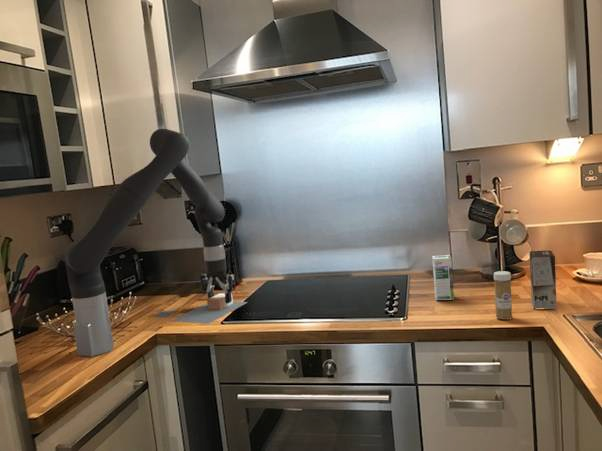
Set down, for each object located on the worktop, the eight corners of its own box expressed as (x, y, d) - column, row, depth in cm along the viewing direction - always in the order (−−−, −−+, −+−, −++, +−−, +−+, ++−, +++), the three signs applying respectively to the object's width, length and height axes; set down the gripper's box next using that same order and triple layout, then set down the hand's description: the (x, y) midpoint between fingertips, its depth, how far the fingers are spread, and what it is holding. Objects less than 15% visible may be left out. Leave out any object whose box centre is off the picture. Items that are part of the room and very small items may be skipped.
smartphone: (138, 325, 171) (160, 311, 186) (139, 328, 171) (161, 313, 186) (157, 325, 169) (177, 310, 184) (157, 327, 170) (178, 313, 184)
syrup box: (436, 301, 167) (433, 258, 165) (434, 296, 173) (432, 255, 171) (454, 301, 166) (451, 257, 164) (452, 296, 172) (449, 254, 170)
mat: (209, 324, 165) (208, 323, 165) (170, 322, 173) (170, 320, 173) (248, 303, 187) (248, 302, 187) (212, 301, 194) (212, 300, 194)
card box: (220, 302, 190) (219, 293, 189) (233, 303, 187) (232, 293, 187) (208, 309, 183) (206, 299, 182) (220, 309, 180) (219, 299, 180)
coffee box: (557, 310, 148) (555, 256, 146) (533, 309, 150) (531, 256, 148) (553, 301, 157) (551, 249, 155) (530, 300, 159) (528, 250, 157)
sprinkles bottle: (502, 321, 143) (500, 275, 141) (492, 317, 147) (490, 272, 145) (516, 319, 144) (514, 272, 142) (505, 314, 148) (503, 269, 147)
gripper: (237, 255, 183) (242, 300, 185) (205, 255, 189) (210, 298, 191) (225, 260, 176) (230, 306, 178) (192, 259, 183) (198, 304, 185)
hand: (220, 302), depth 185 cm, fingers open, 6 cm apart
